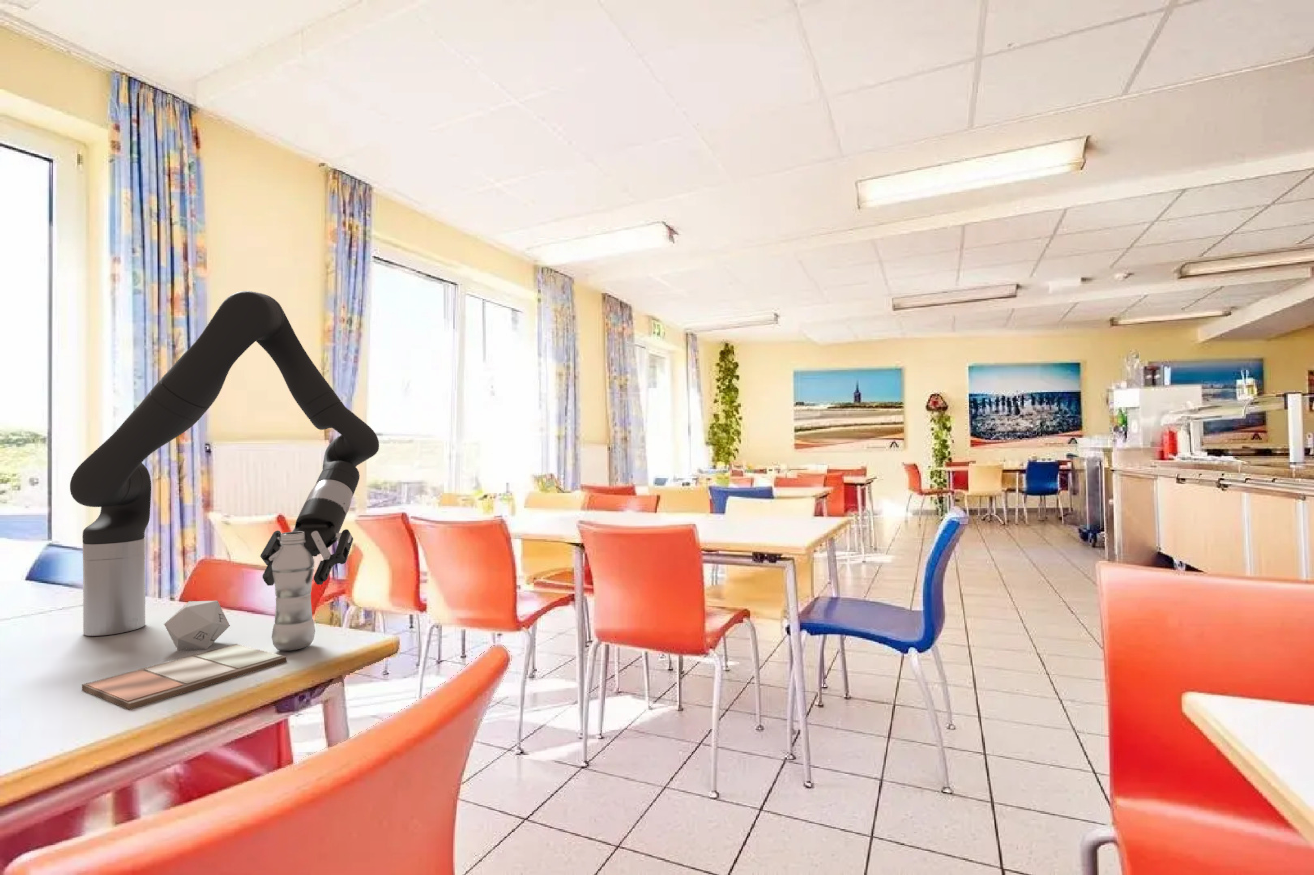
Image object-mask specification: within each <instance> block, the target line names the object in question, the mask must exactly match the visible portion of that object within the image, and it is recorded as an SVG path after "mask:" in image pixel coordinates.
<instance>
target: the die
mask: <svg viewBox="0 0 1314 875" xmlns="http://www.w3.org/2000/svg"><path fill="white" fill-rule="evenodd" d="M163 625H164V627H165V629H166V631H167V632H168V635H169V636H170V638H171V641H172V642H173V644H174V646H175V648H176V650H177V651H180V650H181V651H183V650H208V648H210V646H211V645H213V643H215V641H217V640H218V638H219V637H220V636H222V634H224V633H225V631H227V630H228V628H230V626H231V624H230V623H229V621H228V619H227V617H226V615H225V612H224V611H223V609H222V607H221V605H220V602H219V601H218V600H199V601H198V600H197V601H196V600H195V601H193V600H192V601H191V600H189V601H187V603H186V604H184V605H183V606H182V607H181V608H180V609H179V610H178V611H177V612H175V613H174V615H172V616H171V617H169V619H168V620H167V621H166V622H164V623H163Z"/></svg>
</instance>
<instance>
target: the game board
mask: <svg viewBox="0 0 1314 875" xmlns="http://www.w3.org/2000/svg"><path fill="white" fill-rule="evenodd" d="M285 663H287V656H286V655H281V654H276V653H272V652H268V651H265V650H260V649H258V648H253V647H250V646H246V645H243V644H242V645H241V644H238V643H235V644H231V645H227V646H223V647H219V648H216V649H213V650H209V651H204V652H201V653H196V654H193V655H190V656H185V657H181V658H178V659H174V660H169V661H166V662H162V663H159V664H154V665H150V666H148V667H144V668H140V669H136V670H135V669H134V670H132V671H127V672H123V673H121V674H117V675H116V674H115V675H113V676H109V677H105V678H102V679H98V680H94V681H90V682H86V683H83V684H81V690H82V691H83V692H86V693H89V694H91V695H93V696H96V697H98V698H99V699H102V700H105V701H108V702H110V703H112V704H115V705H117V706H120V707H122V708H125V709H127V710H133V709H137V708H140V707H143V706H147V705H149V704H153V703H156V702H160V701H163V700H165V699H166V700H167V699H170V698H172V697H176V696H179V695H182V694H186V693H189V692H192V691H195V690H198V689H202V688H205V687H208V686H211V685H215V684H218V683H219V684H220V683H222V682H225V681H228V680H231V679H234V678H237V677H242V676H245V675H247V674H251V673H255V672H259V671H261V670H265V669H268V668H271V667H274V666H278V665H281V664H285Z"/></svg>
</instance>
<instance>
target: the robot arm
mask: <svg viewBox="0 0 1314 875" xmlns="http://www.w3.org/2000/svg"><path fill="white" fill-rule="evenodd" d="M255 342H256V343H257V344H258V345H259V346H260V347H262V349H263V350H264V351H265V352H266V354H268V355H269V357H270V358H271V359H272V361H273V362H274V363H275V365H276V367H277V368H278V370H279V372H280V374H281V375H282V377H283V380H284V382H285V384H286V386H287V388H288V390H289V392H290V394H291V396H292V398H293V399H294V401H295V402H296V404H297V405H298V406H299V408H300V409H301V411H302V412H303V413H304V414H305V416H306V418H307V419H308V420H309V421H310V423H311V424H312V425H313V426H314V427H315V428H316V429H318V430H321V431H322V430H328V429H333V430H334V431H336V432H337V433H338V434H339V436H337V437H335V438H334V439H332V441H331V442H330V443H329V444H328V446H327V447H326V450H325V452H324V456H323V462H322V471H321V473H320V474H319V475H318V478H317V480H316V483H315V485H314V486H313V488H312V489H311V490H310V492H309V493H308V496H307V497H306V499H305V502H304V504H303V506H302V507H301V510H300V512H299V514H298V516H297V518H296V520H295V525H294V528H293V529H292V531H291V532H305V540H306V543H304V547H305V548H306V549H307V550H308V551H309V552H310V554H311V555H312V556H313V557H317V556H319V555H320V554H321V556H322V559H323V560H320V561H319V563H318V566H317V569H316V570H315V573H314V574H313V581H314V582H315V584H316V585H318V586H319V585H323V584H324V582H326V581H327V580H328V578H329V576H330V574H331V573H330V572H331V570H332V568H333V567H335V565H338V564H340V565H344V564H346V563H347V560H348V557H349V554H350V551H351V548H352V544H353V541H354V537H353V535H352V534H351V532H350V531H349V529H346V528H345V529H343V530H342V531H341V529H342V526H343V524H344V521H345V520H346V517H347V515H348V513H349V510H350V507H351V504H352V500H353V496H354V494H355V491H356V490H357V487H358V485H359V481H360V471H359V469H358V468H357V467H358V466H359V465H360V464H363V462H366V461H367V460H369V459H370V458H372V457H374V456H375V455H376V454H377V453H378V452H379V450H380V442H379V438H378V436H377V434H376V433H375V431H374V430H373V428H371V426H369V425H368V424H367V423H366V422H364V421H363V419H361V418H360V417H359V416H357V415H356V414H355V413H354V412H352V410H350V409H349V408H347V406H345V405H344V403H343V402H342V400H341V399H340V398H339V397H340V396H338V394H337V393H336V392H335V391H334V389H333V388H332V387H331V385H330V384H329V382H328V381H327V380H326V379H325V377H324V376H323V374H322V373H321V372H320V370H319V369H318V367H317V366H316V365H315V363H314V362H313V361H312V359H311V358H310V357H309V356H310V355H308V353H307V352H306V351H305V349H304V348H305V347H303V345H302V342H301V341H300V340H299V338H298V336H297V334H296V333H295V330H294V329H293V326H292V325H291V323H290V321H289V318H288V316H287V315H286V313H285V311H284V308H282V305H281V304H280V303H279V302H278V301H277V300H276V299H275V298H273V297H272V296H270V295H267V294H265V293H261V292H257V291H250V290H242V291H237V292H234V293H232V294H230V295H229V296H227V297H226V298H225V299H224V300H223V302H222V303H221V304H220V306H219V307H218V309H217V310H216V312H215V313H214V314H213V316H212V318H211V319H210V320H209V322H208V324H207V325H206V327H205V328H204V330H203V331H202V332H201V334H200V335H199V336H198V338H197V339H196V341H195V342H193V344H192V345H191V346H190V347H189V348H188V349H187V350H186V351H185V352H184V353H183V354H182V355H181V356H180V357H179V358H178V360H177V361H176V362H175V363H173V366H172V367H171V368H169V369H168V371H167V372H166V373H165V374H164V375H163V376H162V377H161V378H160V380H158V382H156V384H155V385H154V386H153V387H152V388H151V389H150V391H149V392H148V393H147V395H146V396H145V397H144V399H142V401H141V402H140V403H139V405H138V406H136V408H135V409H134V410H133V411H132V412H131V413H130V415H129V416H128V417H127V418H125V420H124V421H123V423H122V424H121V425H120V426H119V427H118V428H117V429H116V430H115V431H114V433H113V434H112V435H111V436H110V437H108V438H107V439H106V440H105V441H104V442H103V443H102V444H101V445H100V446H99V447H97V449H95V450H94V451H93V452H92V453H91V454H90V455H88V457H87V458H86V459H85V460H84V461H82V462H81V463H80V464H79V465H78V467H77V468H76V469H75V471H74V472H73V474H72V476H71V479H70V482H69V491H70V492H69V493H70V495H71V497H72V498H73V500H74V501H75V502H76V503H78V504H79V505H82V506H85V507H88V508H89V507H90V508H100V512H99V515H98V517H97V518H96V520H94V521H93V522H91V524H88V525H87V526H86V527H85V528H84V529H83V530H82V596H83V598H82V600H83V601H82V611H83V612H82V618H83V619H82V621H83V622H82V623H83V624H82V627H83V628H82V631H83V632H82V633H83V635H84V636H87V637H88V636H91V637H94V636H95V637H96V636H107V635H108V636H109V635H115V634H116V635H117V634H121V633H126V632H130V631H135V630H137V629H141V628H143V627H145V626H146V553H145V552H146V551H145V550H146V542H145V541H146V540H145V539H146V536H145V535H146V534H145V532H146V529H147V526H148V525H149V521H150V517H151V505H152V504H151V503H152V501H151V498H152V482H151V481H152V480H151V479H152V478H151V475H150V472H149V470H148V468H147V467H146V466H145V465H144V463H143V462H144V461H145V460H146V459H147V458H148V457H149V456H150V455H151V454H153V453H154V452H155V451H156V450H158V449H160V448H161V447H163V446H165V445H166V444H168V443H170V442H171V441H172V440H174V439H175V438H177V437H179V436H180V435H182V434H183V433H185V432H187V431H188V430H189V429H191V427H193V426H194V425H195V424H196V423H197V422H198V421H199V420H200V419H201V418H202V416H204V414H205V413H206V412H207V411H208V410H209V408H210V407H212V405H213V404H214V402H215V401H216V399H217V398H218V396H219V394H220V392H221V391H222V389H223V386H224V384H225V381H226V378H227V377H228V374H229V372H230V370H231V368H232V367H233V365H234V364H235V362H236V361H237V360H238V359H239V358H240V357H241V356H242V355H243V354H244V353H245V352H246V351H247V350H248V349H249V348H250V347H251V346H252V345H253V344H254V343H255ZM340 531H341V532H340ZM281 533H282V532H281V530H275V531H274V532H272V535H271V536H270V538H269V539H268V541H267V543H266V545H265V546H264V548H263V550H262V552H261V554H260V555H259V557H260V558H261V560H262V561H263V563H264V564H265V565H266V568H265V569H264V572H263V574H262V579H263V581H264V583H265V585H266V586H274V585H275V584H274V578H273V571H272V563H273V560H274V559H275V557H276V555H277V554H278V553H279V551H280V550H281V549H282V545H281V544H280V541H281ZM337 542H338V543H337ZM335 543H337V546H336V549H335V551H334V553H333V554H331V552H330V550H329V548H330V547H332V546H333V545H334V544H335Z"/></svg>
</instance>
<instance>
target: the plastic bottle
mask: <svg viewBox="0 0 1314 875" xmlns="http://www.w3.org/2000/svg"><path fill="white" fill-rule="evenodd" d="M304 543H306V540H305V532H292V531H287V532H281V541H280V544H281V545H282V549H281V550H280V551H279V553H278V554H277V555H276V557H275V559H274V560H273V563H272V571H273V578H274V584H273V585H274V593H275V609H274V610H275V613H274V623H273V626H272V631H271V632H272V633H271V641H272V645H273V647H274V648H275V649H276V650H277V651H284V652H285V651H297V650H300V649H304V648H307V647H310V645H312V643H313V642H314V640H315V634H316V627H315V626H316V625H315V622H314V618H313V609H312V594H311V593H312V584H313V578H314V568H315V559H314V556H312V555H311V554H310V552H309V551H308V550H307V549H306V548H305V547H304Z"/></svg>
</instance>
